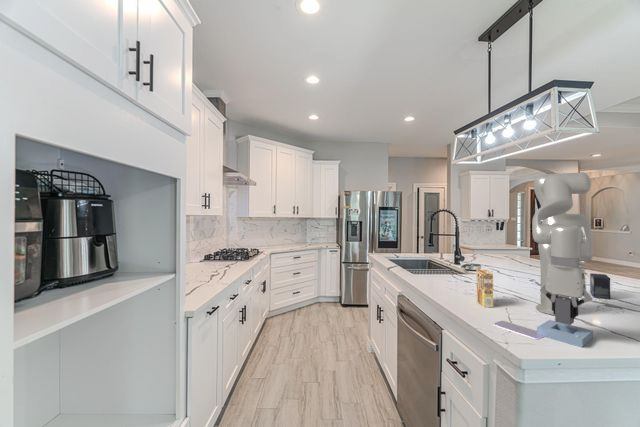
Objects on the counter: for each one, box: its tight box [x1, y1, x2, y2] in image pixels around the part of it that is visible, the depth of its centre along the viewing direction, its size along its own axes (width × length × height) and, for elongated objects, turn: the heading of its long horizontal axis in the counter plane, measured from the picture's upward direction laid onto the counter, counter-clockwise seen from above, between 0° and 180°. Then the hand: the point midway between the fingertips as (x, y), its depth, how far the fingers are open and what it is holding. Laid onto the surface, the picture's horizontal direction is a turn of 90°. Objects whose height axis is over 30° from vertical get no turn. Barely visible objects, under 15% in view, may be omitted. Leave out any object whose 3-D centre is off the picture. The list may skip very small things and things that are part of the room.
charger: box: [554, 296, 575, 325], centre depth 99 cm, size 4×4×8 cm
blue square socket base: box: [536, 319, 594, 348], centre depth 99 cm, size 12×12×3 cm
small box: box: [589, 272, 611, 300], centre depth 146 cm, size 11×6×10 cm, turn 144°
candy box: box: [476, 268, 494, 308], centre depth 133 cm, size 9×4×15 cm, turn 171°
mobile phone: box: [492, 320, 546, 341], centre depth 105 cm, size 8×1×15 cm
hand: (564, 315), depth 99 cm, fingers closed on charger, 4 cm apart
